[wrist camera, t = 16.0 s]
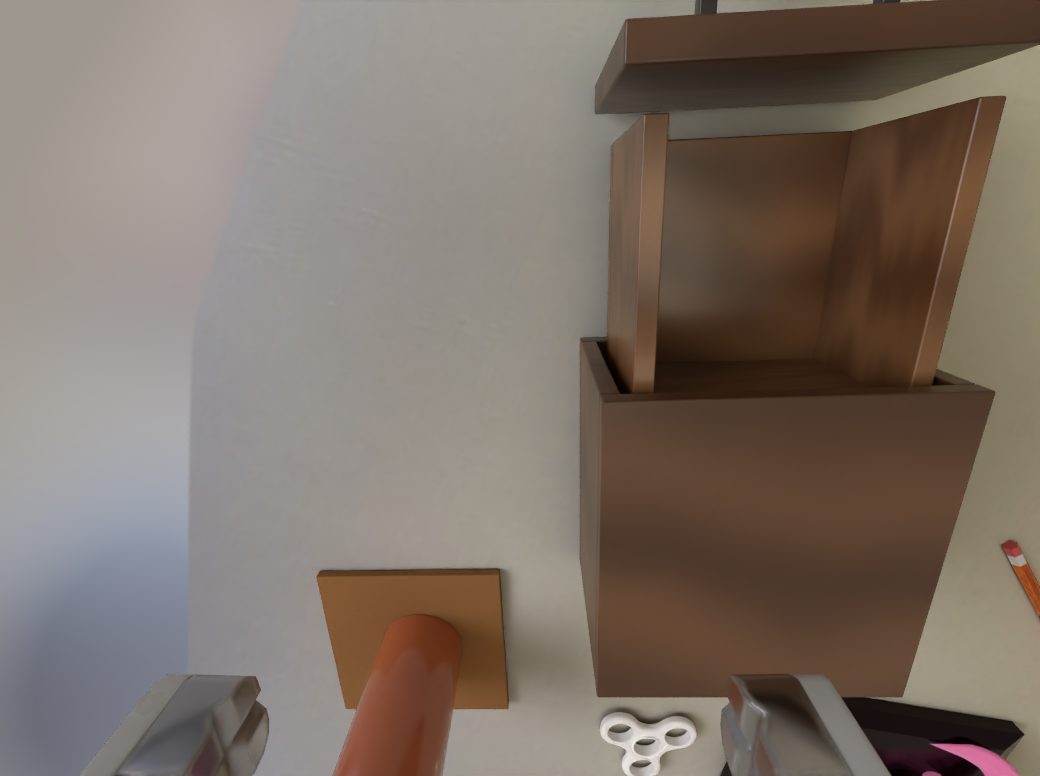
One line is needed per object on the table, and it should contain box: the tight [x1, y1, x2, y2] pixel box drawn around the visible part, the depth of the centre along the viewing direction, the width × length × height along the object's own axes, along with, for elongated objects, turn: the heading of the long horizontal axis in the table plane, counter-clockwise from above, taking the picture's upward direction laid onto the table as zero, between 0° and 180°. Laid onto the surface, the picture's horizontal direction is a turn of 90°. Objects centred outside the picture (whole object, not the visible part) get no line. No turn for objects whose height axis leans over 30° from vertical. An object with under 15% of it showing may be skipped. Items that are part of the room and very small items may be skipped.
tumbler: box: [332, 615, 463, 776], centre depth 28 cm, size 6×6×11 cm
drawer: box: [595, 0, 1040, 394], centre depth 19 cm, size 18×12×8 cm
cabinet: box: [580, 337, 995, 697], centre depth 24 cm, size 15×14×10 cm
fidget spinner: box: [600, 712, 697, 776], centre depth 36 cm, size 7×6×1 cm
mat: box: [317, 569, 509, 709], centre depth 34 cm, size 12×12×1 cm
